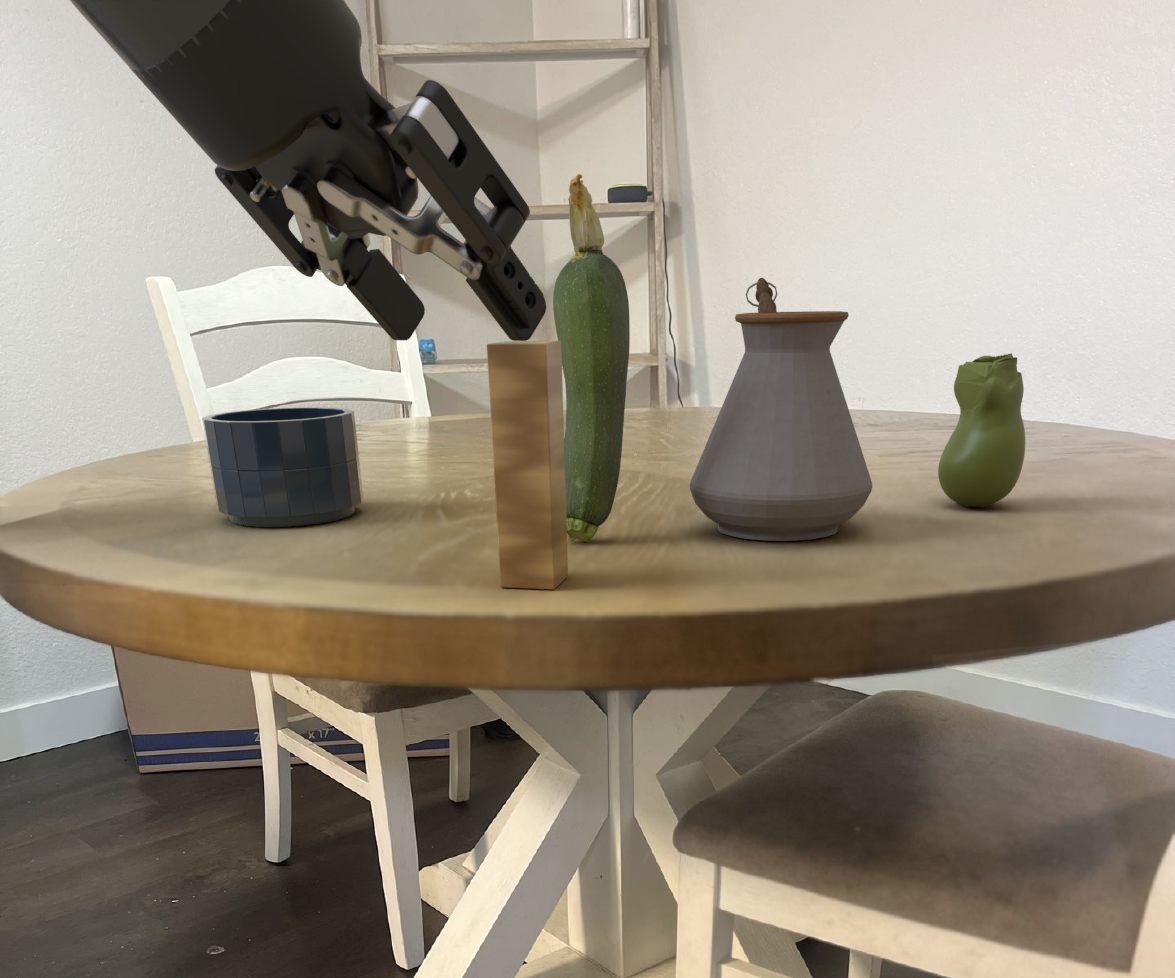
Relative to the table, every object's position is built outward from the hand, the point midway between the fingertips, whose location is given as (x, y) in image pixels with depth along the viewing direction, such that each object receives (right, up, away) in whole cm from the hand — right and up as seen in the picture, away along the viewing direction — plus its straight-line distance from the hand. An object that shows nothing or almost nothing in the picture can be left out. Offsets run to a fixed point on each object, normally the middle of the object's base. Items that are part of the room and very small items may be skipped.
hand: (468, 326), depth 49 cm
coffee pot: (+18, -3, +24) cm, 30 cm away
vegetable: (+6, -6, +17) cm, 19 cm away
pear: (+33, -2, +25) cm, 41 cm away
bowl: (-16, -2, +27) cm, 32 cm away
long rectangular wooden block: (+3, -10, +8) cm, 13 cm away
